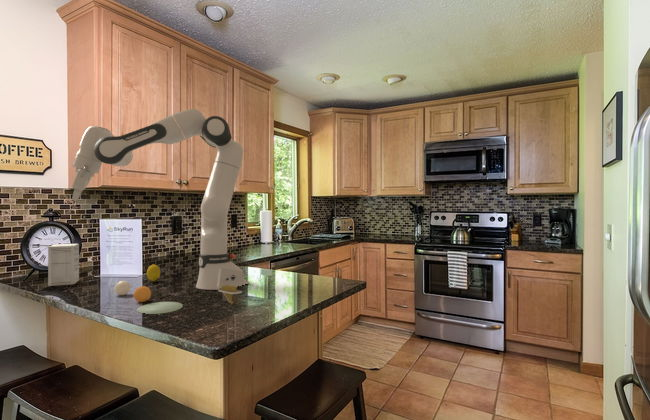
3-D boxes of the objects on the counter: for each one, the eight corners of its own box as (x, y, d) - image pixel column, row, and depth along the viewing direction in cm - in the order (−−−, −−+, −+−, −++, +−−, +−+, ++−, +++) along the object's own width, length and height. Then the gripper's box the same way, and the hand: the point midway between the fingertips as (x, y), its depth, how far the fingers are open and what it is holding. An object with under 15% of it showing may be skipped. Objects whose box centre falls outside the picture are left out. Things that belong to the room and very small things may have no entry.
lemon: (162, 280, 162) (162, 263, 162) (155, 283, 157) (155, 265, 157) (151, 280, 163) (151, 262, 163) (143, 282, 157) (144, 264, 157)
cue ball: (128, 292, 139) (128, 278, 139) (132, 295, 135) (132, 281, 135) (112, 295, 135) (112, 280, 135) (116, 297, 131) (116, 283, 131)
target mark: (173, 300, 129) (173, 299, 129) (189, 308, 119) (189, 307, 119) (131, 307, 119) (131, 306, 119) (144, 316, 109) (144, 316, 109)
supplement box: (79, 280, 160) (80, 243, 160) (74, 284, 152) (75, 245, 152) (53, 281, 156) (54, 243, 156) (47, 286, 148) (47, 246, 148)
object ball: (148, 299, 130) (148, 284, 130) (153, 302, 126) (153, 286, 126) (131, 301, 126) (131, 286, 126) (136, 304, 122) (136, 288, 122)
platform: (234, 312, 117) (234, 292, 117) (197, 304, 126) (198, 285, 126) (258, 304, 127) (259, 286, 127) (223, 297, 136) (223, 280, 136)
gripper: (95, 168, 131) (83, 204, 130) (96, 168, 149) (85, 200, 148) (75, 162, 128) (62, 199, 127) (79, 163, 145) (67, 195, 144)
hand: (75, 199), depth 138 cm, fingers open, 8 cm apart
